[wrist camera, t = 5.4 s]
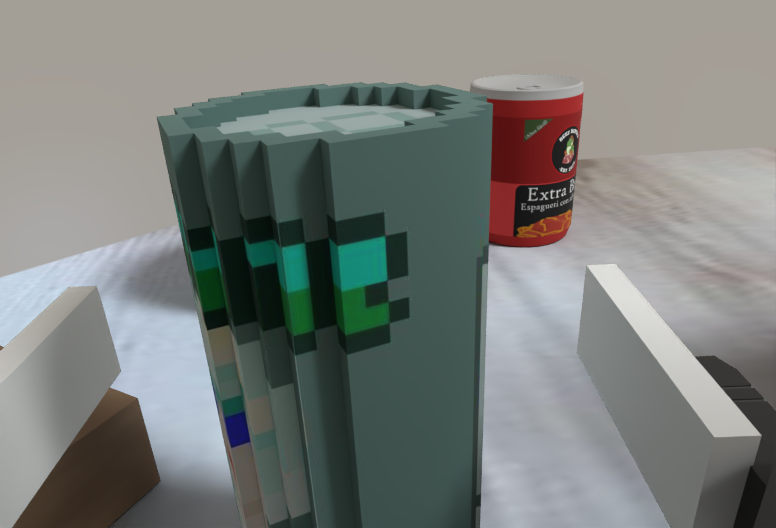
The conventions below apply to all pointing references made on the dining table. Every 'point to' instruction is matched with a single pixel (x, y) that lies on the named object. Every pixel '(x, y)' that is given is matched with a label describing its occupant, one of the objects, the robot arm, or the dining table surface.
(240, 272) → the can
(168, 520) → the dining table surface
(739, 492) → the robot arm
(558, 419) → the dining table surface
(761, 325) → the dining table surface
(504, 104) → the canned food
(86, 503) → the walnut base
